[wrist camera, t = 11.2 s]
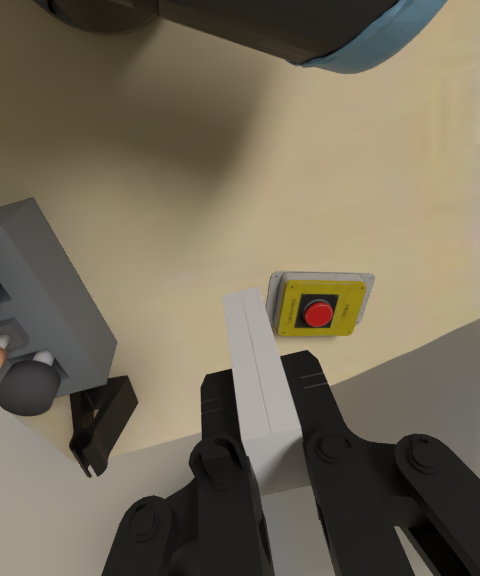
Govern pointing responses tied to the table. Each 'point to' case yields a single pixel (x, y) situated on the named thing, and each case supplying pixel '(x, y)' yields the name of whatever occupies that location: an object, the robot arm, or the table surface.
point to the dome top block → (11, 337)
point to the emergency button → (317, 302)
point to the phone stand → (100, 421)
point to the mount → (50, 302)
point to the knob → (30, 385)
